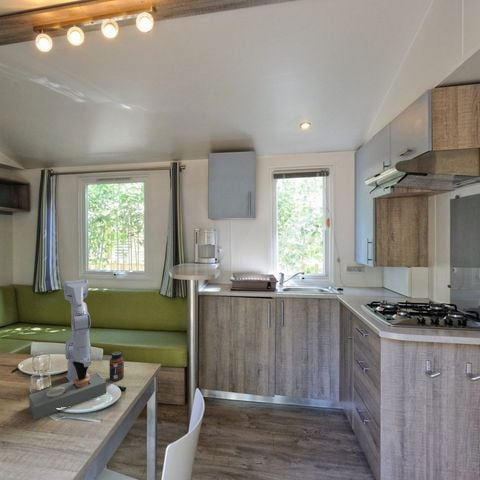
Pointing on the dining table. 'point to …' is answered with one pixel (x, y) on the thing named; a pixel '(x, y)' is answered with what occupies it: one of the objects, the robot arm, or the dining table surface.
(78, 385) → the terracotta plunger
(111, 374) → the supplement bottle
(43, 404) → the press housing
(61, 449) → the dining table surface
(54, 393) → the plunger
